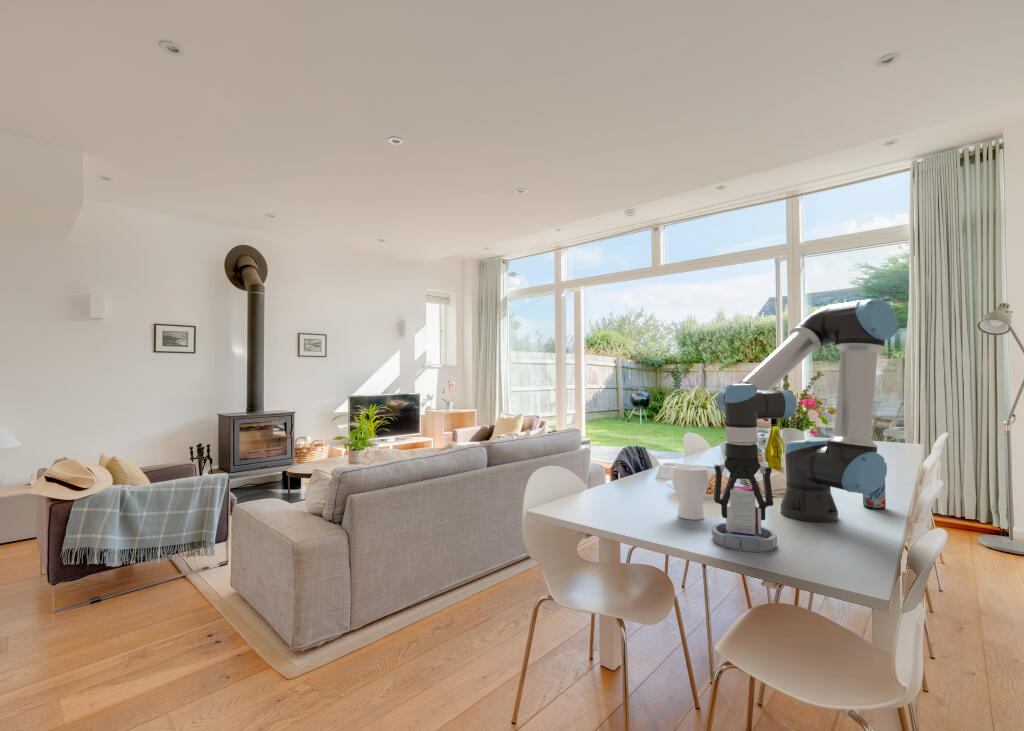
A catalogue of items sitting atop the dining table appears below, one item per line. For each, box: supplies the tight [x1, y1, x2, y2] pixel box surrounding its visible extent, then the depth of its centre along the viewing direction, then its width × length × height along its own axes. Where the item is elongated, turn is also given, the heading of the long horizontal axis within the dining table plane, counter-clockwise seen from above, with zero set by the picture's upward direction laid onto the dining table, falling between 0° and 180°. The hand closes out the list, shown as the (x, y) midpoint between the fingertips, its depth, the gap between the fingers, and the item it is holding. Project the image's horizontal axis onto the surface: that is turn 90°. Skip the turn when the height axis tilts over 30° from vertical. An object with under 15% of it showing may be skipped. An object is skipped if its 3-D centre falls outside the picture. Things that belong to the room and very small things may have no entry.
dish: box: [711, 521, 778, 553], centre depth 127 cm, size 15×15×3 cm
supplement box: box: [729, 485, 756, 536], centre depth 127 cm, size 6×6×12 cm
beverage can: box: [862, 479, 887, 511], centre depth 158 cm, size 6×6×15 cm
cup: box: [671, 464, 710, 521], centre depth 150 cm, size 11×11×15 cm
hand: (743, 531), depth 127 cm, fingers closed on supplement box, 6 cm apart
